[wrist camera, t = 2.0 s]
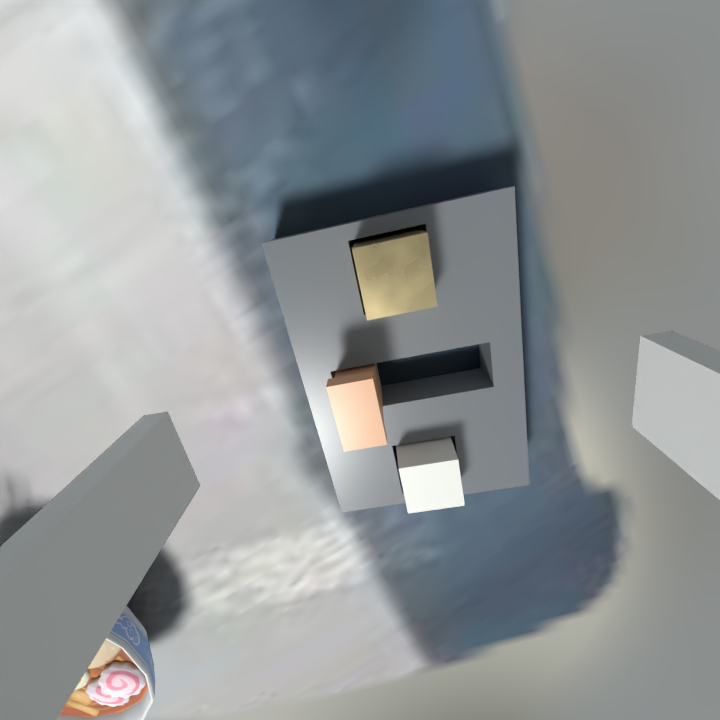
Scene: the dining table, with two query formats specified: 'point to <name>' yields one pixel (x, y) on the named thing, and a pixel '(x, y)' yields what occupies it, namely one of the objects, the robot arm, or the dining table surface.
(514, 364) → the panel
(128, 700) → the ramen bowl
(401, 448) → the white button
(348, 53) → the dining table surface
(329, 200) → the dining table surface
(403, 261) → the brass button
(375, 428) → the orange slider knob
